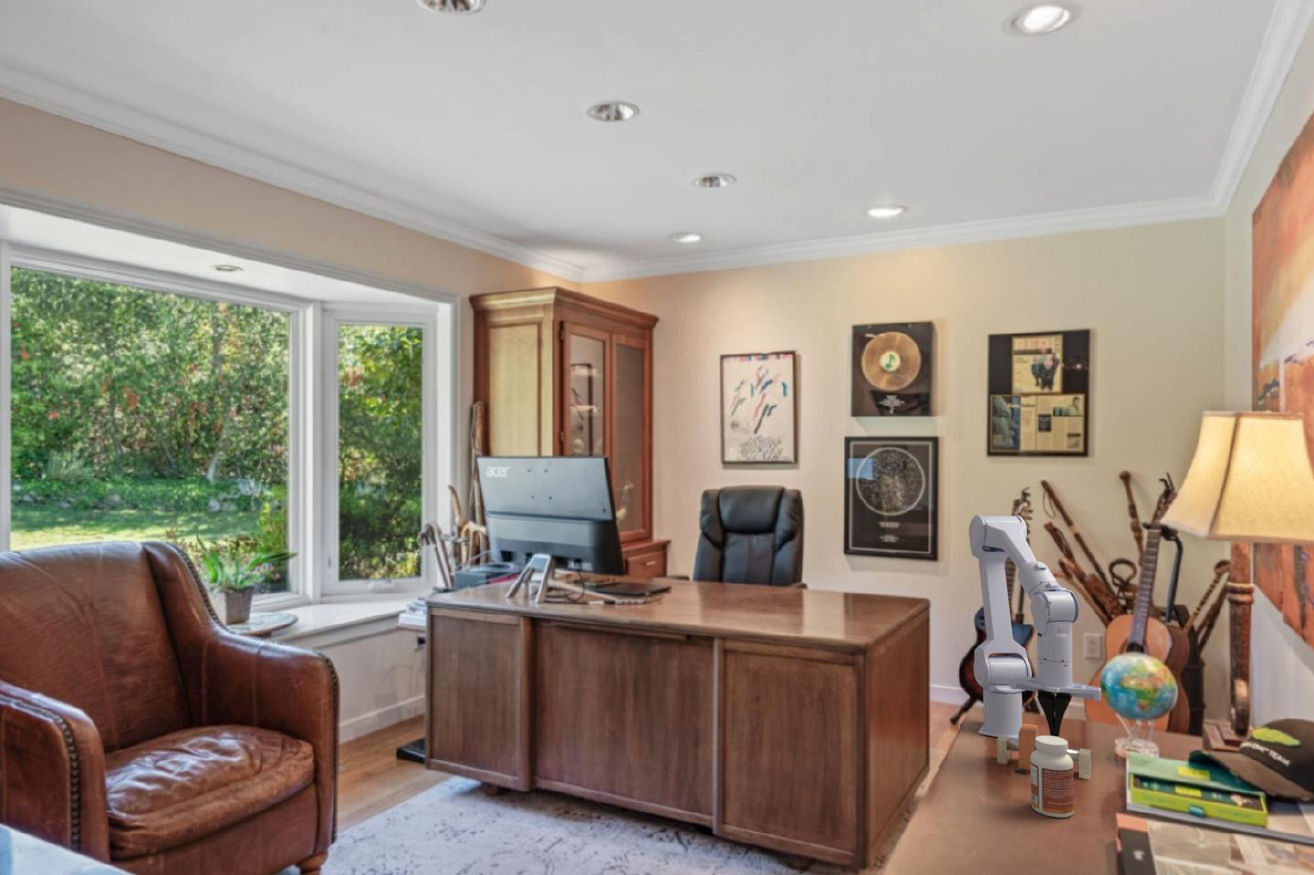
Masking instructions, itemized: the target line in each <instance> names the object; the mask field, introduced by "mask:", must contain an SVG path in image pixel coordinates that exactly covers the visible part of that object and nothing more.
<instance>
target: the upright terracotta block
mask: <svg viewBox="0 0 1314 875" xmlns="http://www.w3.org/2000/svg"><path fill="white" fill-rule="evenodd" d="M1038 736H1039V725H1036V724H1031V723H1023V722H1022V727H1021V729H1020V730H1019V732H1018V737H1019V752H1018V768H1021V769H1027V770H1028V771H1030V772H1031V754H1032V753H1033V752H1034V751H1035V739H1036V737H1038Z"/></svg>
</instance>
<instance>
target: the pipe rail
mask: <svg viewBox="0 0 1314 875" xmlns="http://www.w3.org/2000/svg"><path fill="white" fill-rule="evenodd" d="M1036 750H1037V748H1036V747H1035V751H1036ZM1010 751H1012V752H1017V753H1019V740H1013V739H1009V736H1004V735H1000V736H999V737H997V739H996V753H997V754H996V755H997V756H996V759H997V760H996V762H997V763H996V764H1001V765H1008V763H1009V761H1010ZM1066 754H1067V755H1069V756H1070V757H1071V759H1072V761H1073V763H1078V778H1079V779H1083V780H1087V781H1088V780H1090V778H1091V775H1092V772H1091V768H1092V766H1091V765H1092V764H1091V763H1092V761H1091V760H1092V759H1091V755H1092V754H1091V749H1087V748H1081V747H1080V749H1079V750H1078V749H1073V748H1068V752H1067V753H1066ZM1014 773H1017V774H1021V775H1025V776H1026V775H1027V776H1028V774H1029V770H1027V769H1021V768H1019V767H1015V769H1014Z"/></svg>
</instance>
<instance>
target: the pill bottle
mask: <svg viewBox="0 0 1314 875" xmlns="http://www.w3.org/2000/svg"><path fill="white" fill-rule="evenodd" d="M1035 747H1036V748H1037V750H1036V751H1034V752H1033V753H1032V754H1031V771H1030V793H1031V794H1030V799H1031V800H1030V802H1031V807H1032V809H1033V810H1034V811H1035V812H1037V813H1038V814H1041V815H1044V816H1047V817H1052V818H1060V819H1061V818H1062V819H1063V818H1068V817H1071V816H1072V815H1074V814H1075V789H1074V786H1075V784H1074V780H1075V779H1074V775H1075V774H1074V762H1073V761H1072V759H1071V757H1070V756H1069V755H1067V754H1066V753H1067V752H1068V749H1069V743H1068V741H1067V739H1064V738H1062V737H1060V736H1059V737H1056V736H1051V735H1038V737H1036V739H1035Z"/></svg>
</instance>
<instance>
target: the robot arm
mask: <svg viewBox="0 0 1314 875" xmlns="http://www.w3.org/2000/svg"><path fill="white" fill-rule="evenodd" d="M968 536H969V537H968V538H969V546H970V551H971V552H970V553H971V556H973V557H974V558H976V559H977V562H978V569H979V578H980V587H981V596H982V604H983V605H982V606H983V615H984V622H985V623H984V624H985V625H984V626H985V633H986V639H985V640H984V641H983V642H982V643H980V644H979V645H978V646H977V647H975V649H974V663H973V675H974V678H975V681H976V682H977V684H978V685H979V686H980V687H981V688H983V689H982V690H983V696H982V697H983V724H982V726H981V727H980V729H978V734H979V735H984V736H990V737H996V738H998V737H999V736H1000V735H1004V736H1009V739H1013V740H1019V737H1018V732H1019V730H1020V729H1021V727H1022V725H1023V697H1022V696H1023V695H1022V692H1026V691H1031V692H1037V697H1036V698H1037V700H1038V703H1039V705H1040V707H1041V709H1042V711H1043V713H1044V716H1045V719H1046V722H1047V725H1048V730H1049V736H1055V737H1059V738H1060V734H1061V728H1062V727H1061V726H1062V723H1063V719H1064V715H1065V713H1066V711H1067V709H1068V707H1069V705H1070V703H1071V701H1072V698H1073V697H1074V698H1081V699H1088V700H1093V701H1095V702H1101V699H1102V697H1101V696H1102V691H1101V690H1102V688H1101V687H1098V686H1093V685H1092V686H1091V685H1087V684H1082V683H1076V682H1073V624H1074V623H1076V622H1077V621H1078V619H1079V616H1080V605H1079V601H1078V599H1077V597H1076V594H1075V592H1073V591H1072V590H1070V589H1067V588H1066V587H1062V586H1061V585H1060V584H1059V582H1058V581H1057V578H1055V576H1054V575H1053V573H1052V572H1051V570H1050V568H1049V567H1048V566H1047V564H1046V563H1045V562H1041V561H1038V560H1037V559H1036V557H1035V555H1034V553H1033V551H1032V549H1031V547H1030V545H1029V542H1028V541H1027V538H1028V530H1027V524H1026V522H1025V520H1024V519H1023V517H1022V516H1021V515H1017V514H1014V515H980V514H976V515H974V516H973V518H972V519H971V520H970V524H969V527H968ZM1008 558H1009V559H1010V560H1011V561H1012V562H1013V564H1014V565H1015V567H1016V568H1017V569H1018V573H1017V580H1018V581H1019V584H1020V585H1021V586H1022V589H1024V592H1025V593H1026V594H1027V597H1028V598H1029V600H1030V604H1029V607H1030V608H1029V609H1030V614H1031V617H1032V619H1033V620H1032V621H1033V629H1034V631H1035V632H1036V672H1037V673H1036V677H1032V667H1031V663H1030V662H1029V659H1028V655H1027V650H1026V648H1025V647H1024V646H1022V645H1020V644H1019V643H1018V642H1017V641H1015V640H1014V637H1013V629H1012V621H1011V612H1010V611H1011V610H1010V604H1009V595H1008V586H1007V577H1006V569H1005V568H1006V567H1005V562H1006V560H1007V559H1008ZM991 654H1008V655H991Z"/></svg>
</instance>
